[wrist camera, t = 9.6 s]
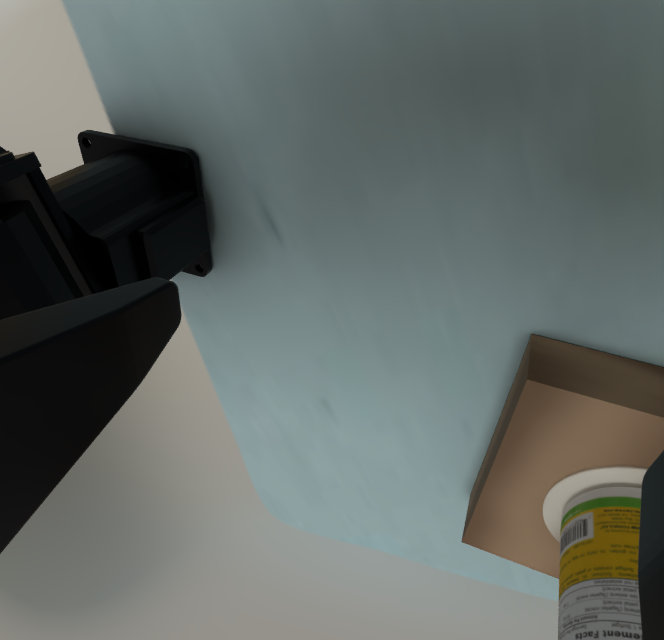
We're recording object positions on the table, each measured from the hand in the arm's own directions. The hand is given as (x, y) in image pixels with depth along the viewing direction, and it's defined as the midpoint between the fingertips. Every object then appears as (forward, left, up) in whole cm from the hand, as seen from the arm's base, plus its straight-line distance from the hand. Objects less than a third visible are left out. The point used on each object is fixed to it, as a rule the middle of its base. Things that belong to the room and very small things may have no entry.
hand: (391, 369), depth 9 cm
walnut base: (+10, -13, -12) cm, 20 cm away
